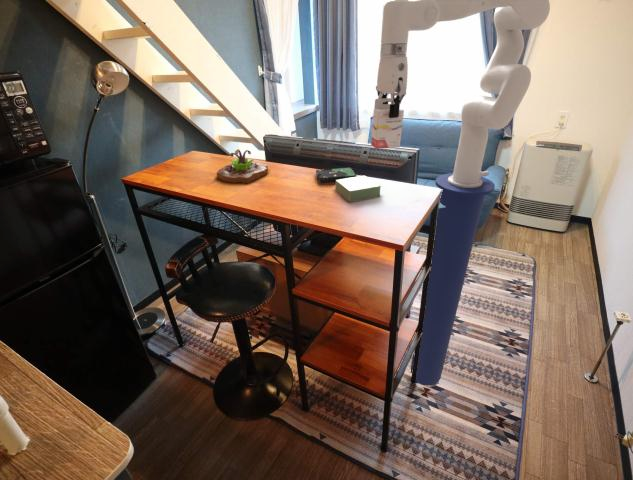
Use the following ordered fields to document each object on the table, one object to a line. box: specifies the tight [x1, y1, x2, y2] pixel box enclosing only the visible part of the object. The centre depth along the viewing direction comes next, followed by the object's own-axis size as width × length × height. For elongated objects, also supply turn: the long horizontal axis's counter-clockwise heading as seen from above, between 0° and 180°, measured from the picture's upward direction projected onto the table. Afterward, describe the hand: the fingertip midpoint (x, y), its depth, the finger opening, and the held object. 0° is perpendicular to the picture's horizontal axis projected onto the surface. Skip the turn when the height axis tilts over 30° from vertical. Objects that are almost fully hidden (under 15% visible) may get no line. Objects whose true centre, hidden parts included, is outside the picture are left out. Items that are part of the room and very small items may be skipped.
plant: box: [216, 149, 269, 184], centre depth 143 cm, size 20×20×11 cm
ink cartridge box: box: [370, 97, 405, 150], centre depth 110 cm, size 9×5×15 cm, turn 101°
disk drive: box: [315, 167, 357, 185], centre depth 139 cm, size 10×3×15 cm
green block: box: [335, 175, 382, 203], centre depth 125 cm, size 12×12×4 cm
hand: (388, 115), depth 109 cm, fingers closed on ink cartridge box, 5 cm apart
